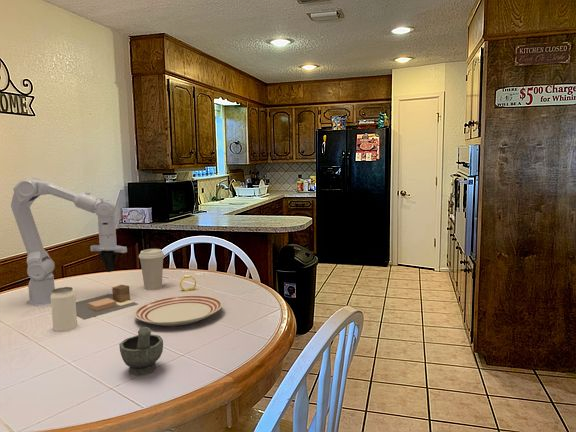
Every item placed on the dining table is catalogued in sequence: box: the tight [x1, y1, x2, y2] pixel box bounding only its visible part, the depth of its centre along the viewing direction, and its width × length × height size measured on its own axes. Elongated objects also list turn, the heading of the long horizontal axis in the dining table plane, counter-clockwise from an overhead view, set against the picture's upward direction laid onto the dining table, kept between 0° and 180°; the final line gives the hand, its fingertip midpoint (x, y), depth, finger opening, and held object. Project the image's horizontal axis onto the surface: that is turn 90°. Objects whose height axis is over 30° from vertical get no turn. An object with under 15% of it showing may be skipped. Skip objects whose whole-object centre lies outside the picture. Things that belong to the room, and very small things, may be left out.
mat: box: [75, 293, 139, 320], centre depth 152 cm, size 20×19×1 cm
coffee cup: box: [138, 248, 165, 291], centre depth 172 cm, size 10×10×15 cm
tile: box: [88, 298, 117, 311], centre depth 150 cm, size 2×7×6 cm
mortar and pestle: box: [118, 326, 164, 377], centre depth 104 cm, size 11×9×12 cm
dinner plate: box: [133, 294, 223, 327], centre depth 141 cm, size 27×27×3 cm
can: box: [50, 286, 78, 332], centre depth 132 cm, size 6×6×12 cm
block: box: [111, 284, 131, 303], centre depth 157 cm, size 4×4×5 cm
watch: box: [179, 274, 197, 292], centre depth 169 cm, size 6×3×6 cm, turn 108°
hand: (110, 271), depth 161 cm, fingers closed
